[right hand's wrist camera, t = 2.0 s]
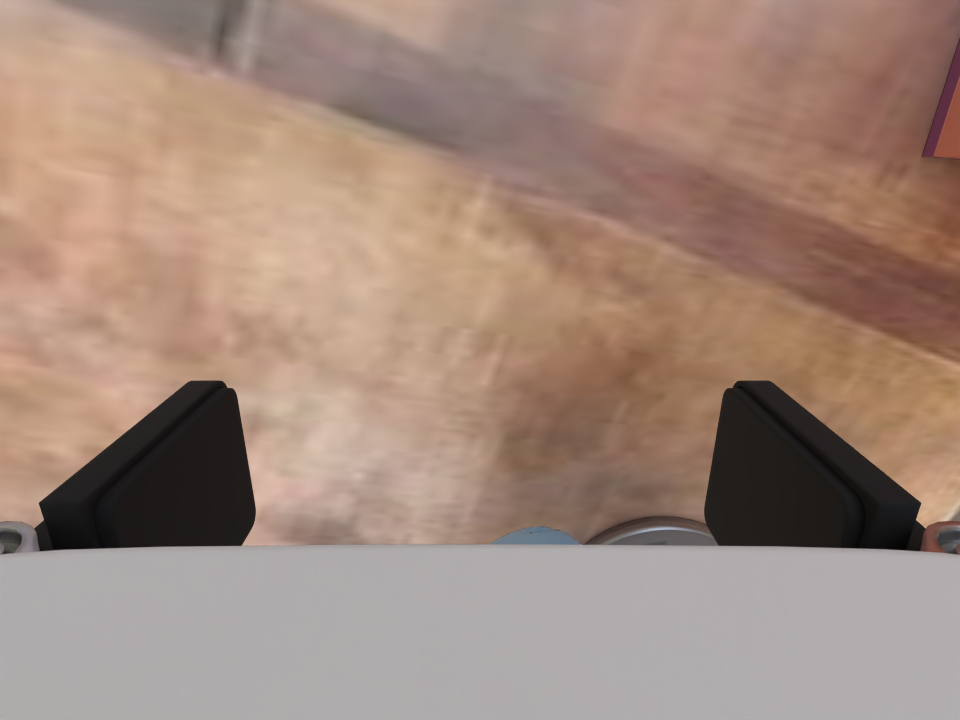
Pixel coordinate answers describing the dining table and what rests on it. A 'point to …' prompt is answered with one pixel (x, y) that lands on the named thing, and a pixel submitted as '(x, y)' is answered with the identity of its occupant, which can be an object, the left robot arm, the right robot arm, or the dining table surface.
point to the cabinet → (947, 118)
